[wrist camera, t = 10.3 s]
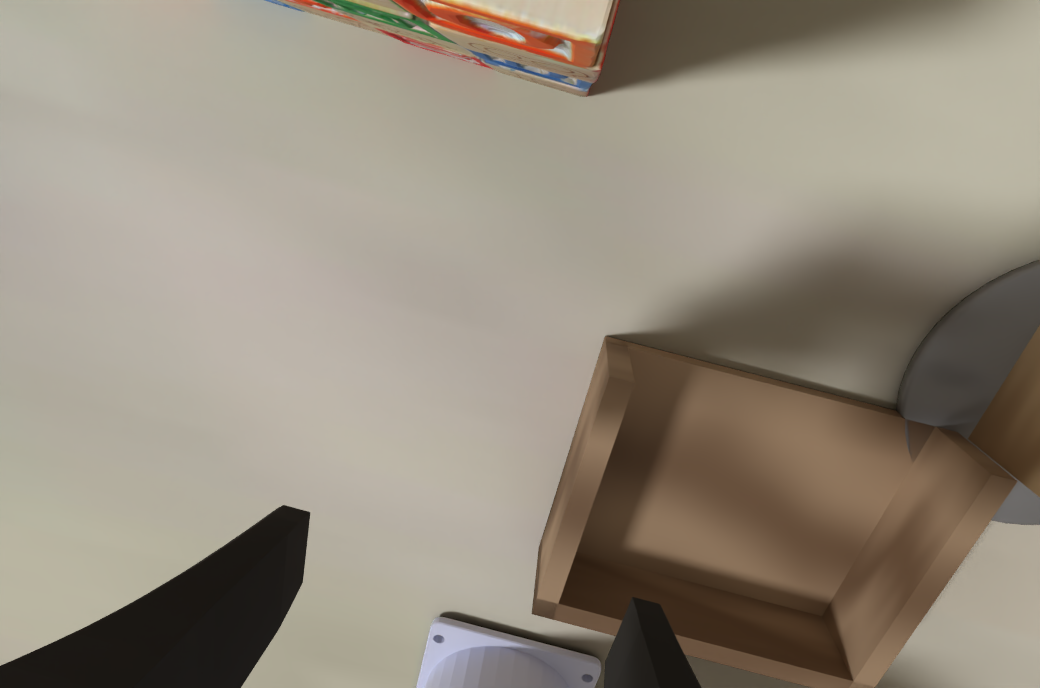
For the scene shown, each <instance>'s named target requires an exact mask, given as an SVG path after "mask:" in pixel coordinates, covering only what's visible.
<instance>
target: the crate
mask: <svg viewBox="0 0 1040 688" xmlns="http://www.w3.org/2000/svg"><path fill="white" fill-rule="evenodd" d="M906 421H907V424H906V423H905V418H904V417H903V416H902V415H900V414H899V413H898V412H897V411H896V410H892V409H888V408H884V407H880V406H876V405H872V404H868V403H864V402H861V401H857V400H853V399H849V398H845V397H841V396H837V395H833V394H829V393H825V392H822V391H818V390H814V389H810V388H806V387H802V386H798V385H794V384H790V383H786V382H783V381H779V380H775V379H771V378H767V377H763V376H759V375H755V374H751V373H747V372H744V371H740V370H736V369H732V368H728V367H724V366H720V365H716V364H712V363H708V362H705V361H701V360H697V359H693V358H689V357H685V356H681V355H677V354H673V353H669V352H666V351H662V350H658V349H654V348H650V347H646V346H642V345H638V344H634V343H630V342H627V341H623V340H619V339H615V338H611V337H607V336H605V338H604V341H603V345H602V348H601V351H600V354H599V357H598V361H597V364H596V367H595V370H594V373H593V377H592V380H591V383H590V386H589V389H588V393H587V396H586V399H585V402H584V405H583V408H582V412H581V415H580V418H579V421H578V424H577V428H576V431H575V434H574V437H573V440H572V444H571V447H570V450H569V453H568V456H567V460H566V463H565V466H564V469H563V472H562V475H561V479H560V482H559V485H558V488H557V491H556V495H555V498H554V501H553V504H552V507H551V511H550V514H549V517H548V520H547V523H546V527H545V530H544V533H543V536H542V539H541V543H540V546H539V551H538V561H537V570H536V579H535V589H534V598H533V608H532V614H534V615H538V616H542V617H545V618H549V619H553V620H557V621H561V622H564V623H568V624H572V625H576V626H580V627H583V628H587V629H591V630H595V631H599V632H602V633H606V634H610V635H614V636H616V635H617V633H618V630H619V628H620V625H621V623H622V620H623V618H624V616H625V613H626V611H627V608H628V606H629V603H630V601H631V599H632V597H635V598H639V599H643V600H647V601H651V602H655V603H658V604H660V605H661V607H662V608H663V610H664V613H665V615H666V617H667V619H668V621H669V623H670V625H671V627H672V629H673V632H674V634H675V636H676V638H677V640H678V642H679V644H680V646H681V648H682V650H683V652H684V654H686V655H690V656H694V657H697V658H701V659H705V660H709V661H713V662H716V663H720V664H724V665H728V666H732V667H735V668H739V669H743V670H747V671H750V672H754V673H758V674H762V675H766V676H769V677H773V678H777V679H781V680H785V681H788V682H792V683H796V684H800V685H804V686H807V687H811V688H875V687H876V685H877V684H878V682H879V681H880V679H881V678H882V677H883V675H884V674H885V672H886V671H887V669H888V668H889V666H890V665H891V664H892V662H893V661H894V659H895V658H896V656H897V655H898V653H899V652H900V651H901V649H902V648H903V646H904V645H905V643H906V642H907V640H908V639H909V638H910V636H911V635H912V633H913V632H914V630H915V629H916V627H917V626H918V625H919V623H920V622H921V620H922V619H923V617H924V616H925V615H926V613H927V612H928V610H929V609H930V607H931V606H932V604H933V603H934V602H935V600H936V599H937V597H938V596H939V594H940V593H941V591H942V590H943V589H944V587H945V586H946V584H947V583H948V581H949V580H950V578H951V577H952V576H953V574H954V573H955V571H956V570H957V568H958V567H959V565H960V564H961V563H962V561H963V560H964V558H965V557H966V555H967V554H968V552H969V551H970V550H971V548H972V547H973V545H974V544H975V542H976V541H977V540H978V538H979V537H980V535H981V534H982V532H983V531H984V529H985V528H986V527H987V525H988V524H989V522H990V521H991V519H992V518H993V516H994V515H995V514H996V512H997V511H998V509H999V508H1000V506H1001V505H1002V503H1003V502H1004V501H1005V499H1006V498H1007V496H1008V495H1009V493H1010V492H1011V490H1012V489H1013V488H1014V486H1015V485H1016V483H1017V482H1018V481H1017V480H1015V479H1014V478H1013V477H1012V476H1011V475H1009V474H1008V473H1007V472H1006V471H1004V470H1003V469H1002V468H1001V467H1000V466H998V465H997V464H996V463H995V462H993V461H992V460H991V459H990V458H989V457H987V456H986V455H985V454H984V453H983V452H981V451H980V450H979V449H978V448H976V447H975V446H974V445H973V444H972V443H970V442H969V441H968V440H967V439H965V438H964V437H963V436H962V435H961V434H959V433H958V432H955V431H951V430H947V429H943V428H939V427H935V426H933V427H932V428H931V425H927V424H924V423H920V422H916V421H912V420H910V421H909V420H908V419H906ZM910 422H912V423H910ZM913 422H914V423H913ZM905 424H906V425H908V424H909V426H908V427H909V428H908V430H909V432H908V433H910V434H908V433H907V437H908V435H909V438H911V439H909V440H908V441H906V439H908V438H906V435H905ZM920 424H921V425H920ZM918 426H919V427H918ZM923 426H924V427H923ZM926 426H927V427H926ZM929 426H930V427H929ZM911 427H912V428H911ZM916 427H917V428H916ZM910 428H911V429H910ZM918 428H919V429H918ZM923 428H924V429H923ZM930 428H931V429H930ZM920 429H921V430H920ZM926 429H927V430H926ZM908 430H907V431H908ZM911 430H912V431H911ZM918 430H919V431H918ZM932 430H933V431H932ZM922 431H923V432H922ZM929 431H930V432H929ZM919 432H920V434H919ZM927 432H928V433H927ZM911 433H912V434H913V435H912V434H911ZM914 433H915V434H914ZM916 433H917V434H916ZM923 434H924V435H923ZM928 434H929V436H927V435H928ZM925 435H926V436H925ZM910 436H911V437H910ZM912 436H913V437H912ZM915 437H916V439H917V440H916V439H914V438H915ZM922 437H923V438H922ZM924 437H925V438H924ZM923 440H924V441H923ZM909 441H910V442H912V443H913V444H912V443H910V442H909ZM913 441H914V442H913ZM907 442H908V443H909V444H910V447H909V444H908V447H909V449H910V448H911V450H910V451H909V450H908V447H907ZM921 442H922V443H921ZM917 443H918V444H917ZM918 447H919V448H918ZM920 448H921V449H920ZM912 449H913V450H912ZM910 452H912V454H911V453H910ZM910 454H911V455H910ZM911 456H912V457H911ZM914 457H915V458H914ZM911 458H912V459H911ZM914 460H915V461H914Z"/></svg>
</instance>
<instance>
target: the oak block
mask: <svg viewBox="0 0 1040 688" xmlns="http://www.w3.org/2000/svg"><path fill="white" fill-rule="evenodd" d="M968 439H969V440H970V441H971V442H972V443H974V444H975V445H976V446H977V447H978V448H980V449H981V450H982V451H983V452H985V453H986V454H987V455H988V456H989V457H991V458H992V459H993V460H994V461H996V462H997V463H998V464H999V465H1000V466H1002V467H1003V468H1004V469H1005V470H1007V471H1008V472H1009V473H1010V474H1012V475H1013V476H1014V477H1015V478H1016V479H1018V480H1019V481H1020V482H1021V483H1023V484H1024V485H1025V486H1026V487H1027V488H1029V489H1030V490H1031V491H1032V492H1034V493H1035V494H1036V495H1037V496H1038V497H1040V325H1039V327H1038V329H1037V330H1036V332H1035V333H1034V335H1033V336H1032V338H1031V340H1030V341H1029V343H1028V344H1027V346H1026V348H1025V349H1024V351H1023V352H1022V354H1021V355H1020V357H1019V359H1018V360H1017V362H1016V363H1015V365H1014V367H1013V368H1012V370H1011V371H1010V373H1009V374H1008V376H1007V378H1006V379H1005V381H1004V382H1003V384H1002V386H1001V387H1000V389H999V390H998V392H997V393H996V395H995V397H994V398H993V400H992V401H991V403H990V405H989V406H988V408H987V409H986V411H985V412H984V414H983V416H982V417H981V419H980V420H979V422H978V424H977V425H976V427H975V428H974V430H973V431H972V433H971V435H970V436H969V438H968Z"/></svg>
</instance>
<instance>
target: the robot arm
mask: <svg viewBox="0 0 1040 688" xmlns="http://www.w3.org/2000/svg"><path fill="white" fill-rule="evenodd" d="M309 519H310V512H308V511H304V510H300V509H296V508H292V507H288V506H285V505H283V506H281V507H279V508H277V509H276V510H275V511H273V512H272V513H270V514H269V515H267V516H266V517H265V518H263V519H262V520H260V521H259V522H258V523H256V524H255V525H253V526H252V527H250V528H249V529H248V530H246V531H245V532H243V533H242V534H240V535H239V536H238V537H236V538H235V539H233V540H232V541H230V542H229V543H227V544H226V545H224V546H223V547H221V548H220V549H218V550H217V551H215V552H214V553H212V554H211V555H209V556H208V557H206V558H205V559H203V560H202V561H200V562H199V563H197V564H196V565H194V566H192V567H191V568H189V569H188V570H186V571H185V572H183V573H181V574H180V575H178V576H176V577H175V578H173V579H171V580H170V581H168V582H166V583H165V584H163V585H161V586H160V587H158V588H156V589H155V590H153V591H151V592H150V593H148V594H146V595H144V596H143V597H141V598H139V599H137V600H136V601H134V602H132V603H130V604H128V605H127V606H125V607H123V608H121V609H119V610H117V611H116V612H114V613H112V614H110V615H108V616H106V617H104V618H102V619H100V620H98V621H96V622H94V623H92V624H90V625H89V626H87V627H85V628H83V629H80V630H78V631H76V632H74V633H72V634H70V635H68V636H66V637H64V638H61V639H59V640H57V641H55V642H53V643H51V644H49V645H46V646H44V647H42V648H40V649H37V650H35V651H33V652H31V653H29V654H26V655H24V656H22V657H20V658H18V659H15V660H13V661H11V662H8V663H6V664H4V665H1V666H0V688H241V686H242V685H243V683H244V682H245V680H246V679H247V677H248V676H249V674H250V673H251V671H252V670H253V668H254V667H255V665H256V663H257V662H258V660H259V659H260V657H261V656H262V654H263V653H264V651H265V650H266V648H267V647H268V645H269V643H270V642H271V640H272V639H273V637H274V636H275V634H276V633H277V631H278V629H279V628H280V626H281V624H282V622H283V620H284V618H285V616H286V614H287V612H288V611H289V609H290V607H291V605H292V603H293V601H294V599H295V597H296V595H297V593H298V591H299V589H300V587H301V585H302V583H303V574H304V565H305V556H306V547H307V538H308V529H309ZM439 635H441V636H439ZM587 674H589V675H587ZM600 674H601V663H600V661H599V660H598V659H597V658H596V657H593V656H590V655H586V654H582V653H578V652H575V651H571V650H567V649H563V648H559V647H556V646H552V645H548V644H544V643H540V642H537V641H533V640H529V639H525V638H522V637H518V636H514V635H510V634H506V633H503V632H499V631H495V630H491V629H487V628H484V627H480V626H476V625H472V624H468V623H465V622H461V621H457V620H453V619H450V618H446V617H437V618H435V619H434V620H433V621H432V624H431V627H430V631H429V636H428V640H427V644H426V649H425V653H424V657H423V661H422V666H421V670H420V674H419V678H418V683H417V687H416V688H595V686H596V683H597V681H598V678H599V676H600ZM604 688H701V686H700V684H699V682H698V680H697V679H696V677H695V675H694V673H693V671H692V669H691V667H690V665H689V663H688V661H687V659H686V656H685V654H684V652H683V650H682V648H681V646H680V644H679V642H678V640H677V638H676V636H675V634H674V632H673V629H672V627H671V625H670V623H669V621H668V619H667V617H666V615H665V613H664V610H663V608H662V607H661V605H660V604H658V603H655V602H651V601H647V600H643V599H639V598H635V597H632V599H631V601H630V603H629V606H628V608H627V611H626V613H625V616H624V618H623V620H622V623H621V625H620V628H619V630H618V633H617V635H616V637H615V640H614V642H613V645H612V647H611V649H610V652H609V654H608V657H607V659H606V662H605V679H604Z"/></svg>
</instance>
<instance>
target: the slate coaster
mask: <svg viewBox="0 0 1040 688" xmlns="http://www.w3.org/2000/svg"><path fill="white" fill-rule="evenodd" d="M1039 325H1040V260H1039V261H1036V262H1032V263H1030V264H1027V265H1025V266H1022V267H1020V268H1017V269H1015V270H1012V271H1010V272H1008V273H1006V274H1004V275H1002V276H1000V277H998V278H996V279H995V280H993V281H991V282H989V283H987V284H986V285H984V286H983V287H981V288H980V289H978V290H976V291H975V292H973V293H972V294H970V295H969V296H968V297H966V298H965V299H964V300H963V301H961V302H960V303H959V304H958V305H956V306H955V307H954V308H953V309H951V310H950V311H949V312H948V313H947V314H946V315H945V316H944V317H943V318H942V319H941V320H940V321H939V322H938V323H937V324H936V325H935V327H934V328H933V329H932V330H931V331H930V333H929V334H928V335H927V336H926V338H925V339H924V340H923V341H922V343H921V345H920V346H919V348H918V349H917V351H916V352H915V354H914V356H913V357H912V359H911V361H910V363H909V365H908V368H907V370H906V372H905V374H904V377H903V380H902V383H901V386H900V390H899V394H898V400H897V407H896V411H897V412H898V413H899V414H900V415H902V416H903V417H904V418H905V423H906V424H907V421H906V419H908V420H909V421H910V420H912V421H916V422H920V423H924V424H927V425H931V428H932V427H933V426H935V427H939V428H943V429H947V430H951V431H955V432H958V433H959V434H961V435H962V436H963V437H964V438H965V439H967V440H968V441H969V442H970V443H972V442H971V441H970V440H969V439H968V438H969V436H970V435H971V433H972V431H973V430H974V428H975V427H976V425H977V424H978V422H979V420H980V419H981V417H982V416H983V414H984V412H985V411H986V409H987V408H988V406H989V405H990V403H991V401H992V400H993V398H994V397H995V395H996V393H997V392H998V390H999V389H1000V387H1001V386H1002V384H1003V382H1004V381H1005V379H1006V378H1007V376H1008V374H1009V373H1010V371H1011V370H1012V368H1013V367H1014V365H1015V363H1016V362H1017V360H1018V359H1019V357H1020V355H1021V354H1022V352H1023V351H1024V349H1025V348H1026V346H1027V344H1028V343H1029V341H1030V340H1031V338H1032V336H1033V335H1034V333H1035V332H1036V330H1037V329H1038V327H1039ZM910 423H912V422H910ZM913 423H914V422H913ZM906 424H905V435H906V438H908V439H906V441H908V440H909V439H911V438H909V435H908V437H907V433H908V432H909V430H908V428H909V427H908V426H909V424H908V425H906ZM920 425H921V424H920ZM918 427H919V426H918ZM923 427H924V426H923ZM926 427H927V426H926ZM929 427H930V426H929ZM911 428H912V427H911ZM911 428H910V429H911ZM916 428H917V427H916ZM931 428H930V429H931ZM918 429H919V428H918ZM923 429H924V428H923ZM907 430H908V431H907ZM920 430H921V429H920ZM926 430H927V429H926ZM911 431H912V430H911ZM918 431H919V430H918ZM932 431H933V430H932ZM922 432H923V431H922ZM929 432H930V431H929ZM927 433H928V432H927ZM908 434H910V433H908ZM911 434H912V433H911ZM914 434H915V433H914ZM916 434H917V433H916ZM919 434H920V432H919ZM912 435H913V434H912ZM923 435H924V434H923ZM925 436H926V435H925ZM927 436H929V434H928V435H927ZM910 437H911V436H910ZM912 437H913V436H912ZM922 438H923V437H922ZM924 438H925V437H924ZM914 439H916V437H915V438H914ZM916 440H917V439H916ZM923 441H924V440H923ZM909 442H910V441H909ZM913 442H914V441H913ZM910 443H912V442H910ZM921 443H922V442H921ZM908 444H909V443H908V442H907V447H908ZM912 444H913V443H912ZM917 444H918V443H917ZM972 444H973V445H974V446H975V447H976V448H978V447H977V446H976V445H975V444H974V443H972ZM909 447H910V444H909ZM909 447H908V450H909V451H910V450H911V448H910V449H909ZM918 448H919V447H918ZM920 449H921V448H920ZM978 449H979V450H980V451H981V452H983V451H982V450H981V449H980V448H978ZM912 450H913V449H912ZM910 453H911V454H912V452H910ZM983 453H984V454H985V455H986V456H987V457H989V456H988V455H987V454H986V453H985V452H983ZM911 454H910V455H911ZM911 457H912V456H911ZM914 458H915V457H914ZM989 458H990V459H991V460H992V461H993V462H995V463H996V464H997V465H998V466H1000V465H999V464H998V463H997V462H996V461H994V460H993V459H992V458H991V457H989ZM911 459H912V458H911ZM914 461H915V460H914ZM1000 467H1001V468H1002V469H1003V470H1004V471H1006V472H1007V473H1008V474H1009V475H1011V476H1012V477H1013V478H1014V479H1015V480H1017V481H1018V482H1017V483H1016V485H1015V486H1014V488H1013V489H1012V490H1011V492H1010V493H1009V495H1008V496H1007V498H1006V499H1005V501H1004V502H1003V503H1002V505H1001V506H1000V508H999V509H998V511H997V512H996V514H995V515H994V516H993V518H992V519H991V520H993V521H998V522H1003V523H1010V524H1021V525H1040V497H1038V496H1037V495H1036V494H1035V493H1034V492H1032V491H1031V490H1030V489H1029V488H1027V487H1026V486H1025V485H1024V484H1023V483H1021V482H1020V481H1019V480H1018V479H1016V478H1015V477H1014V476H1013V475H1012V474H1010V473H1009V472H1008V471H1007V470H1005V469H1004V468H1003V467H1002V466H1000Z"/></svg>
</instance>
